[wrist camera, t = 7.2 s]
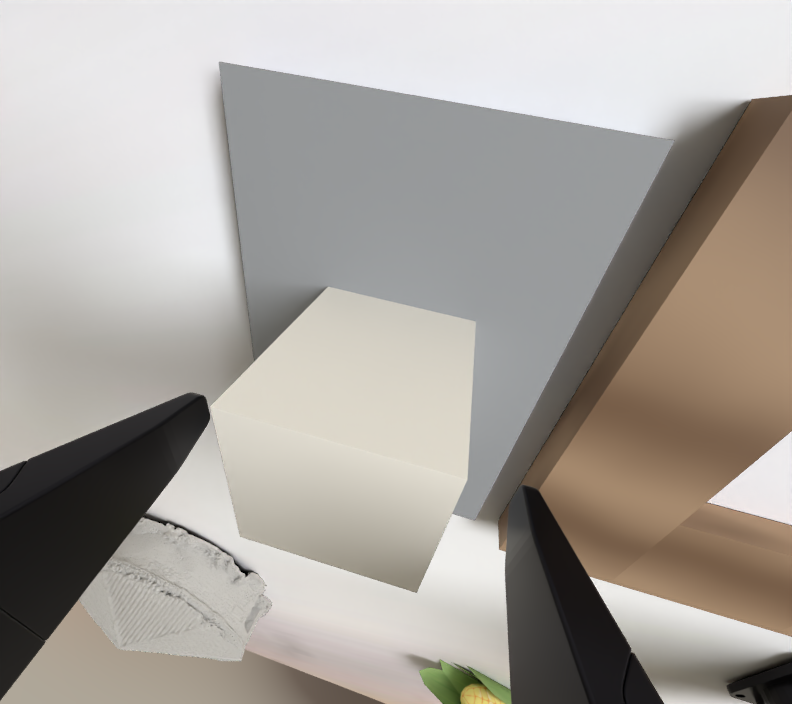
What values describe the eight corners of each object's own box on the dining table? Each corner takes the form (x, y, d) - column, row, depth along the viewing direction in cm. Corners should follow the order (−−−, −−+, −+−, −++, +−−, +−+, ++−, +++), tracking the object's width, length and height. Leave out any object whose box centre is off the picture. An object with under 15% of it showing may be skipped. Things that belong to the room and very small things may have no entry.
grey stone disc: (293, 628, 37) (260, 716, 32) (135, 586, 40) (80, 660, 35) (254, 525, 26) (193, 632, 21) (42, 479, 29) (-61, 562, 24)
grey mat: (475, 502, 18) (474, 520, 17) (275, 444, 19) (265, 459, 18) (656, 139, 8) (675, 140, 8) (241, 67, 9) (218, 61, 9)
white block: (441, 427, 14) (416, 592, 9) (324, 395, 14) (240, 536, 9) (475, 321, 11) (466, 479, 6) (328, 286, 11) (209, 406, 7)
